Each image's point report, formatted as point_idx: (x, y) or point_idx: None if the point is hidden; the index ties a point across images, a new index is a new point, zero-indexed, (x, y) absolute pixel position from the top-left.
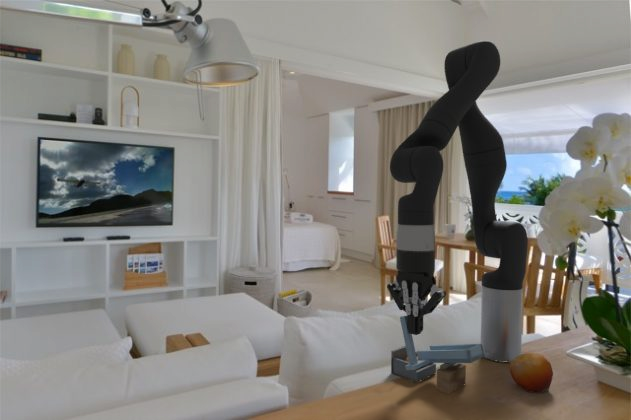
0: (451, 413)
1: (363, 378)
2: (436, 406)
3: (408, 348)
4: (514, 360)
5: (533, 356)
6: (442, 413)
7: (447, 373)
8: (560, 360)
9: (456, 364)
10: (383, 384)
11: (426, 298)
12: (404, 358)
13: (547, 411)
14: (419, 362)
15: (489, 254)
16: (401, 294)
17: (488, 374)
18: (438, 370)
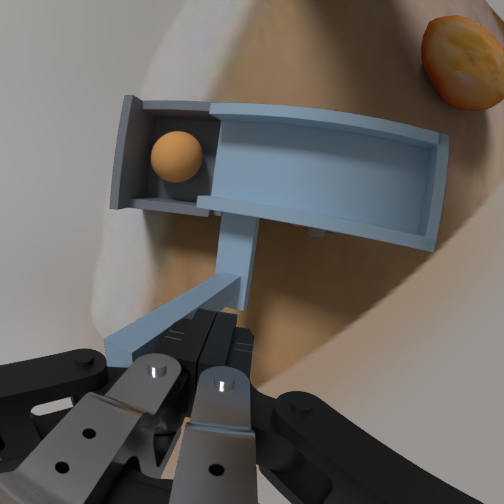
0: (358, 314)
1: (113, 278)
2: (322, 306)
3: None
4: (452, 57)
5: (497, 61)
6: (343, 326)
7: (330, 232)
8: None
9: None
10: (164, 279)
11: (254, 469)
12: (140, 148)
13: (491, 179)
14: (241, 264)
15: None
16: (14, 421)
17: (352, 39)
18: (297, 226)
